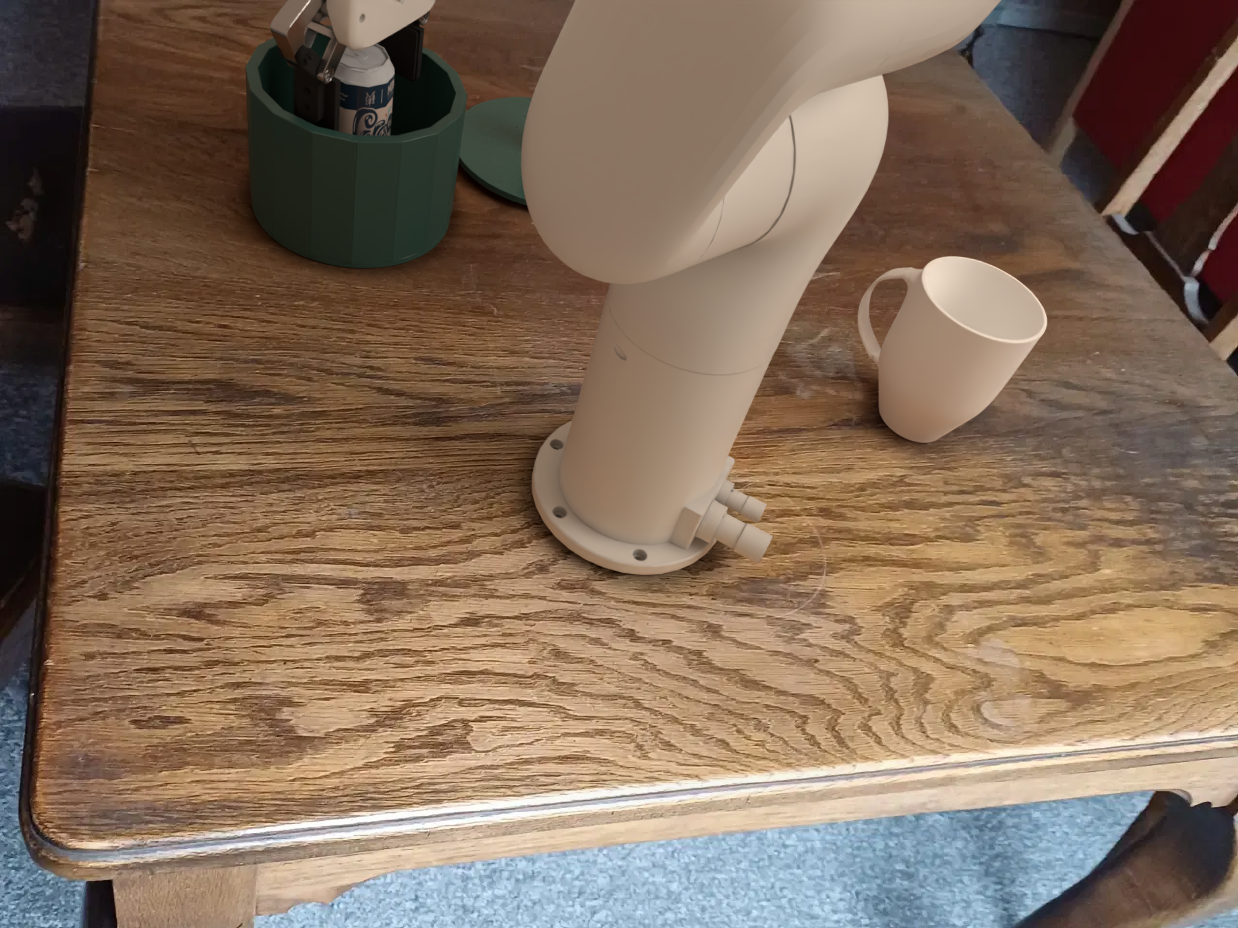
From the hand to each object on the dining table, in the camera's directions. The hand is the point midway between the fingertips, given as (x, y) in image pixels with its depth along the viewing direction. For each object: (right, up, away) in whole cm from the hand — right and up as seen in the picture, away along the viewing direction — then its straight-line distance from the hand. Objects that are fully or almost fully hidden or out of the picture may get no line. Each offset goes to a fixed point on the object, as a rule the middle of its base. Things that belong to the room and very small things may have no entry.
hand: (359, 98), depth 75 cm
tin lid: (+12, +1, +16) cm, 20 cm away
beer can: (-2, -6, +7) cm, 9 cm away
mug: (+39, -21, +5) cm, 44 cm away
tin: (-2, -6, +7) cm, 9 cm away
